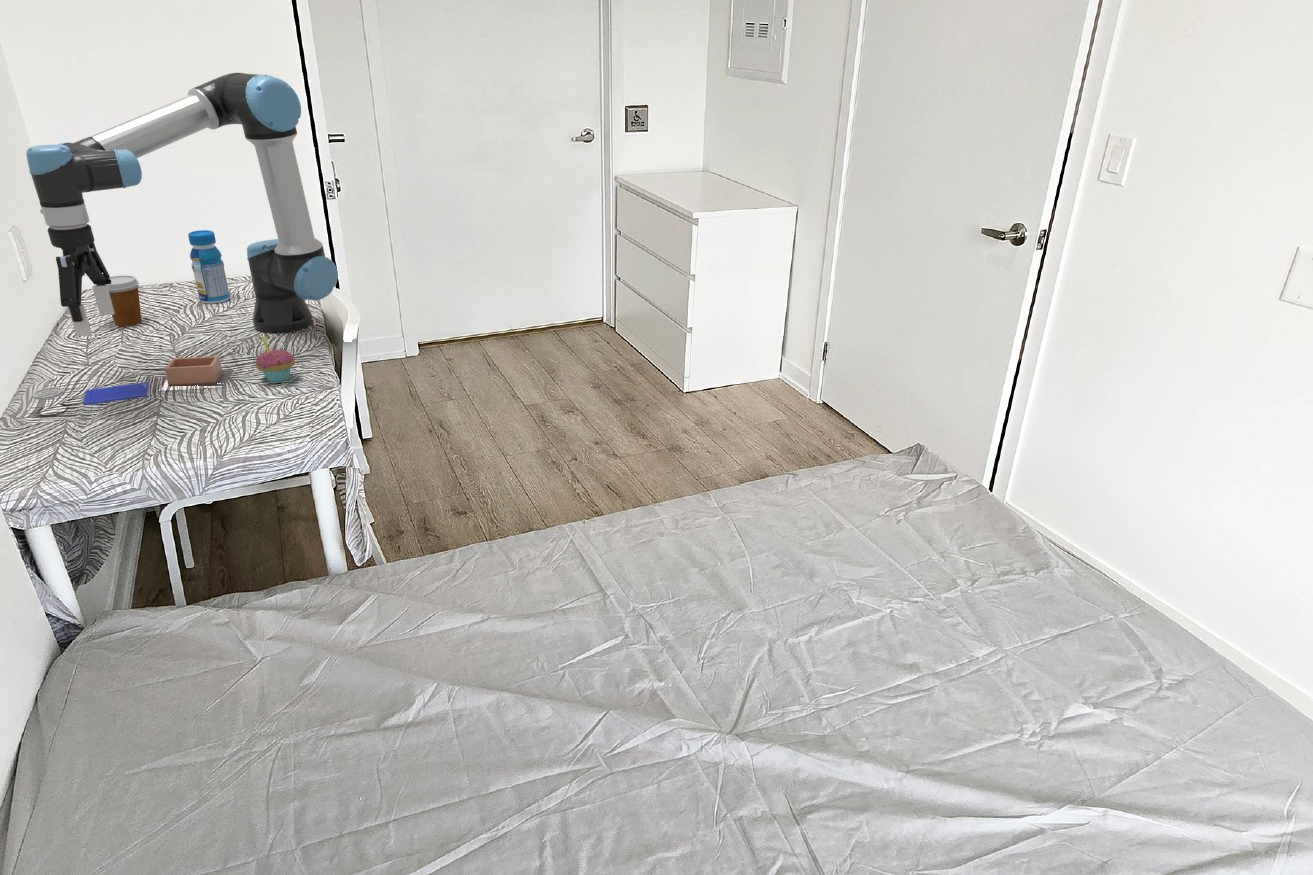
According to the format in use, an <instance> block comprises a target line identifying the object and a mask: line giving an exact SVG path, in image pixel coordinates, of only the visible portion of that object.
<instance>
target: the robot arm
mask: <svg viewBox="0 0 1313 875" xmlns="http://www.w3.org/2000/svg"><path fill="white" fill-rule="evenodd" d="M301 115H302V105H301V102H300V98H299V97H298V94H297V93H296V91H295V90H294V89H293V87H292V85H290V84H288V82H286V81H284V80H283V79H281V78H278V77H274V76H272V75H267V74H255V73H246V72H245V73H244V72H231V73H227V74H224V75H221V76H218V77H217V78H213V79H211V80H209V81H206V82H204V83H202V84H200V85H197V86H195V87H193V88H190V89H189V90H188V92H187V95H186V96H184V97H182V98H179V99H177V100H174V101H172V102H170V103H167V104H165V105H163V106H160V107H158V108H155V109H152V110H150V111H148V112H145V113H143V114H140V115H139V116H136V117H133V118H130V119H129V120H126V121H123V122H121V123H119V124H117V125H114V126H112V127H109V128H107V129H104V130H102V131H99V132H97V133H95V134H93V135H89V136H88V137H84V138H83V139H80V140H78V141H74V142H61V143H57V144H40V145H38V144H37V145H33V146H30V147H28V148H27V150H26V161H27V164H28V170H29V174H30V176H31V180H32V181H33V186H34V188H35V191H36V194H37V198H38V200H39V205H40V207H41V209H39V212H40V214H42V216H43V218H44V222H45V225H46V226H48V229H47V233H48V237H49V240H50V241H49V242H50V244H51V245H52V247H54V248H56V249H57V248H58V249H60V250H62V256H55V262H56V265H57V270H58V273H57V274H58V283H59V284H58V285H59V297H60V298H59V299H60V305H61V307H62V308H65V307H67V309H68V311H69V315H70V319H71V322H72V325H73V329H74V332H75V335H76V337H85V336H87V337H89V336H92V335H93V332H92V329H91V325H90V322H89V318H88V315H87V314H88V313H87V311H86V308H85V304H84V303H83V304H82V290H83V289H82V288H83V277H84V276H85V275H86V276H87V277H88V279H89V280H90V281H91V282H92V283H93V286H92V287H91V288H92V291H93V295H94V298H95V302H96V305H97V309H98V312H99V315H100V316H112V315H114V314H115V313H114V309H113V305H112V302H111V298H110V294H109V290H108V287H107V285H106V284H111V279H109V278H110V277H111V275H110V273H109V272H108V270H107V268H106V266H105V264H104V262H103V259H102V258H101V255H100V254H99V253H98V250H97V248H96V245H95V237H94V233H93V229H92V226H91V225H90V224H89V223H90V218H89V213H88V209H87V207H86V204H85V200H84V195H83V194H84V193H90V192H98V191H106V190H115V189H127V188H129V187H134V186H135V187H136V186H138V185H139V184H140V183H141V181H142V177H143V172H142V168H141V164H140V161H139V158H141V157H143V156H146V155H149V154H150V153H152V152H154V151H157V150H159V149H161V148H163V147H167V146H168V145H171V144H173V143H175V142H178V141H179V140H182V139H184V138H187V137H189V136H191V135H194V134H196V133H199V132H200V131H203V130H205V129H208V130H209V129H210V130H212V131H213V130H217V129H219V128H221V127H225V126H229V125H230V126H231V125H241V126H242V130H243V133H244V134H243V135H244V137H245V140H246V141H248V142H249V143H251V144H252V145H253V146H254V149H255V153H256V156H257V161H258V165H259V169H260V173H261V176H262V180H263V184H264V188H265V189H264V190H265V192H266V196H267V201H268V204H269V208H270V211H271V213H270V214H271V216H272V220H273V224H274V229H275V231H276V237H277V238H275V239H274V238H272V239H267V240H266V239H265V240H260V241H255V242H253V243H250V244H248V246H247V248H246V255H247V256H246V257H247V258H246V259H247V261H248V265H249V271H250V275H251V281H252V286H253V291H254V295H255V303H254V308H253V315H252V323H253V328H254V329H255V330H256V331H258V332H261V333H267V332H284V333H289V332H296V331H300V330H302V329H305V328H307V327H308V328H309V326H312V324H313V322H314V321H313V313H312V312H311V309H310V308H309V306H308V304H307V302H306V300H310V301H319V300H323V299H325V298H326V297H328V296H329V295H330V294H331V293H332V292H333V289H334V288H335V287H336V285H337V282H338V276H339V275H338V273H339V272H338V269H337V266H336V263H334V261H332V259H330V258H329V257H326V255H325V254H326V253H325V249H324V245H323V242H321V241H320V240H319V239H318V238H316V237H315V234H314V229H313V225H312V221H311V217H310V216H311V215H310V213H309V209H308V204H307V198H306V195H305V191H304V186H303V182H302V178H301V174H300V169H299V166H298V165H299V164H298V161H297V156H296V151H295V147H294V144H293V141H294V139H295V138H296V137H297V135H298V130H297V125H298V124H299V119H300V118H301Z"/></svg>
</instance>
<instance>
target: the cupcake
mask: <svg viewBox="0 0 1313 875" xmlns="http://www.w3.org/2000/svg"><path fill="white" fill-rule="evenodd" d="M260 334H261V340H262V343H263V344H264V347H265V351H263V352H261V353H259V355H258V356H257V357H256V358H255V361H254V362H255V367H256V369H257V370H259V371H261V372H262V374H263V375H264V377H265V378H266V380H267V381H268V382H272V383H279V382H283V381H286V380H287V379H288V378H289V379H290V374H291V370H292V368H293V366H295V365H296V359H295V357H294V355H293V354H292V353H291V352H290V351H287V350H285V349H282V348H280V349H278V348H274V349H270V348H269V345H268V342H267V339H266V336H265V335H263V333H260ZM289 379H288V380H289ZM288 380H287V381H288Z"/></svg>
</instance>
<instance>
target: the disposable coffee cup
mask: <svg viewBox="0 0 1313 875" xmlns="http://www.w3.org/2000/svg"><path fill="white" fill-rule="evenodd" d="M109 279H111V284H106V285H107V287H108V290H109V294H110V298H111V302H112V305H113V309H114V313H115V314H114V315H111V317H112V320H113V321H114V322H113V323H114V324H115V326H118V327H132V326H135V324H136V325H138V324H141V323H142V321H143V320H142V312H141V302H140V296H139V295H140V293H139V284H140V282H139V281H138V280H137V277H135V276H133V275H114V276H110V278H109ZM131 325H132V326H131Z"/></svg>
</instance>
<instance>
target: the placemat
mask: <svg viewBox="0 0 1313 875" xmlns="http://www.w3.org/2000/svg"><path fill="white" fill-rule="evenodd" d="M234 371H235V370H234V369H224V370H223V369H222V372H223V374H222V376H221V378H220V379H219V381H218V383H221V384H214V385H198V386H224V387H222V388H221V389H224V388H225V386H226V384H227V383H228V381H229V380H230V378H231V376H232V374H233V373H234ZM222 383H224V384H222ZM225 383H226V384H225ZM196 386H197V385H196ZM208 389H209V390H211V389H213V388H208ZM208 389H207V388H204V389H203V390H208ZM216 389H219V388H218V387H217V388H216ZM196 390H198V389H197V388H196Z"/></svg>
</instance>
